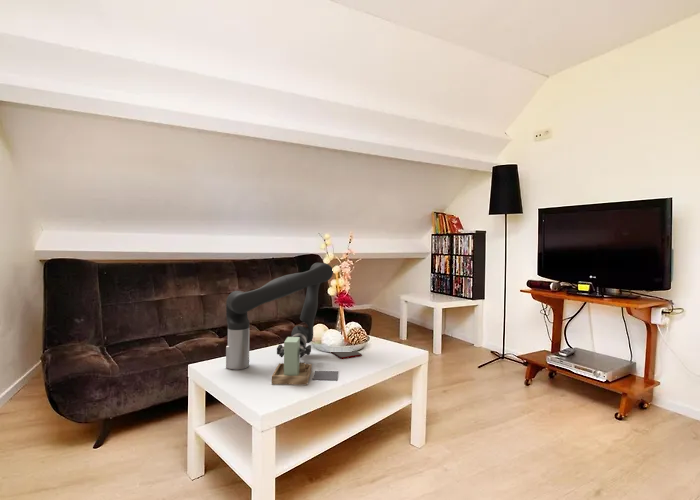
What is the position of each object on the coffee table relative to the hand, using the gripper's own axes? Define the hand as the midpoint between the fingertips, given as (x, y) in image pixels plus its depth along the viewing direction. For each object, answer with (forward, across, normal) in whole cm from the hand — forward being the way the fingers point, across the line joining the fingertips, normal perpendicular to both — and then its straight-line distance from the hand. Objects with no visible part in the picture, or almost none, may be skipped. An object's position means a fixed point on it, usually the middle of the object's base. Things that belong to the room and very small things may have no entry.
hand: (291, 355), depth 152 cm
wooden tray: (-4, 0, +10) cm, 11 cm away
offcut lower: (-9, 0, +9) cm, 13 cm away
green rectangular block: (-2, 0, +9) cm, 10 cm away
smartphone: (-42, +18, +11) cm, 47 cm away
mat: (-7, +14, +10) cm, 18 cm away
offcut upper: (-9, +1, +8) cm, 12 cm away
